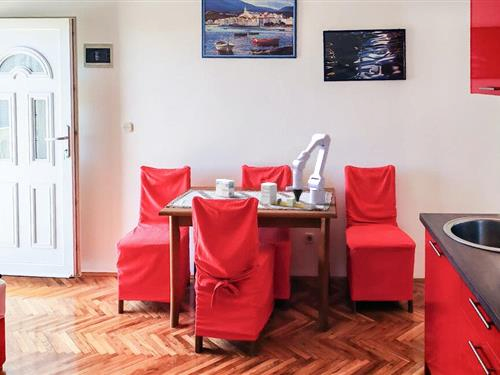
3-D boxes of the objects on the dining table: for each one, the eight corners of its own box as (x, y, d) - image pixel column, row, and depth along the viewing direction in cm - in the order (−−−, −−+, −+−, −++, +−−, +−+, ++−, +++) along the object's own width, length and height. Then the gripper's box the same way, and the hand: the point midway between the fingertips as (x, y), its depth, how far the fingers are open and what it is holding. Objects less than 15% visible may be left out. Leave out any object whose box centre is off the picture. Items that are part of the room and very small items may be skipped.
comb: (315, 207, 387) (315, 203, 386) (311, 209, 380) (311, 205, 380) (309, 206, 389) (309, 202, 388) (304, 209, 382) (305, 204, 382)
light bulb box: (234, 196, 420) (234, 180, 418) (228, 197, 414) (228, 181, 412) (221, 194, 425) (221, 178, 423) (215, 195, 420) (215, 179, 418)
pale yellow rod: (311, 207, 386) (311, 202, 385) (309, 208, 383) (309, 203, 382) (276, 203, 397) (276, 198, 396) (273, 204, 394) (273, 198, 393)
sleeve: (296, 205, 392) (296, 197, 391) (292, 206, 387) (293, 199, 386) (290, 204, 393) (290, 197, 393) (286, 206, 389) (287, 198, 388)
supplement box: (267, 201, 403) (267, 182, 401) (276, 203, 398) (277, 183, 396) (260, 203, 397) (260, 183, 395) (269, 205, 392) (270, 185, 390)
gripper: (307, 178, 391) (306, 200, 393) (284, 178, 388) (284, 200, 390) (310, 180, 384) (310, 202, 387) (287, 180, 381) (287, 202, 384)
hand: (297, 201), depth 388 cm, fingers closed
